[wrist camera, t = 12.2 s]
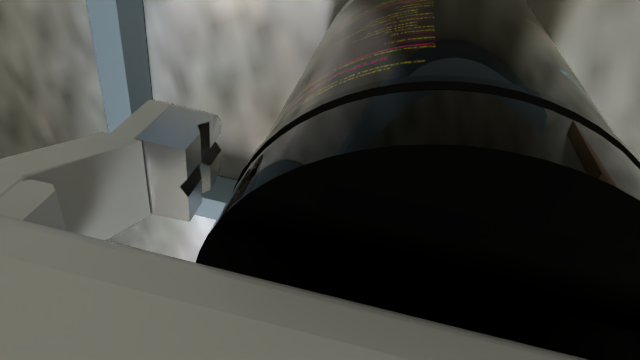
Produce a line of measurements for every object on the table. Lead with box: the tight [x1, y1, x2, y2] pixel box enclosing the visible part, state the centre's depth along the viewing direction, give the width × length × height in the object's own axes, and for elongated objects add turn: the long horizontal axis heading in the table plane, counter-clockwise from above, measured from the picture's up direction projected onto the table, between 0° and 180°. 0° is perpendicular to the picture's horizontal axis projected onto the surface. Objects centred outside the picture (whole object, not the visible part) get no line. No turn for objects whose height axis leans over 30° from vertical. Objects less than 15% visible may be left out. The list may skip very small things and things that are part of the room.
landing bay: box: [86, 0, 237, 220], centre depth 14 cm, size 14×15×2 cm
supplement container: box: [196, 0, 640, 360], centre depth 10 cm, size 7×7×10 cm
